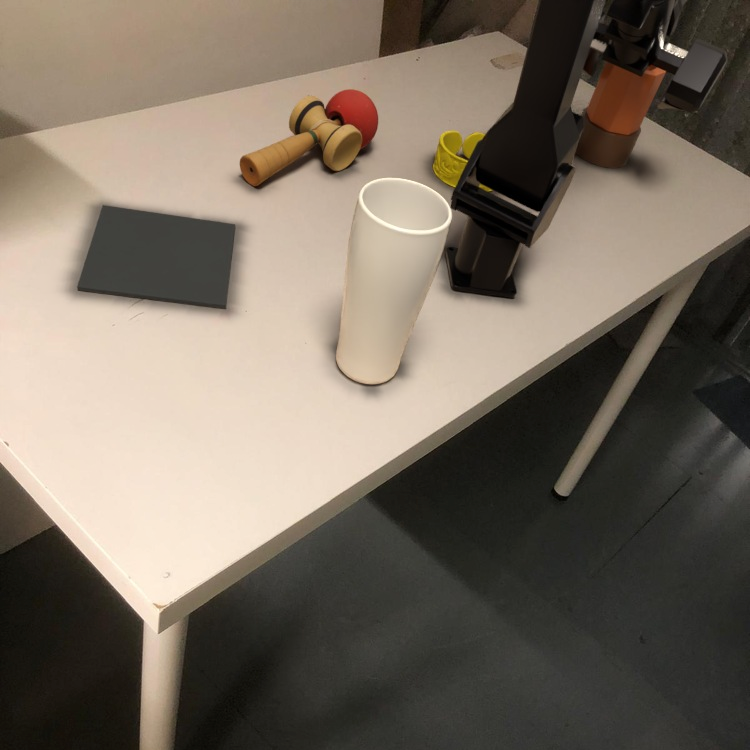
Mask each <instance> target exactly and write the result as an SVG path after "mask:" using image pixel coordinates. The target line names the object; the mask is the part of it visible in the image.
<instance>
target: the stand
mask: <svg viewBox="0 0 750 750" xmlns="http://www.w3.org/2000/svg"><path fill="white" fill-rule="evenodd" d="M587 108H588V106H586V107H584V108H583V110H582V112H581V116H583V119H584V129H583V132H582V134H581V137H580V139H579V142H578V146H577V149H576V152H575V155H577V157H579V158H581V159H582V160H584V161H586V162H588V163H590V164H593V165H596V166H598V167H603V168H608V169H609V168H610V169H617V168H622V167H623V166H625V165H626V164H627V162H628V161H629V158H630V156H631V154H632V151H633V149H634V148H635V145H636V143H637V141H638V139H639V138H640V135H641V133H642V128H641V127H640V128H639V130H638V131H636V132H634V133H632V134H630V135H624V134H619V133H613V132H609V131H606V130H605V129H603V128H601V127H599V126H598V125H596V124H594V123H593V122H591V121H590V119H589V117H588V114H587V112H586V110H587Z"/></svg>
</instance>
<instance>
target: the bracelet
mask: <svg viewBox="0 0 750 750" xmlns="http://www.w3.org/2000/svg"><path fill="white" fill-rule="evenodd" d="M485 134H486V133H483V132H472V133H471V134H469V135H468V136H466V138H464V141H463V137H462V135H461V133H460V132H459V131H457V130H448V131H447V130H446V131H444V132H443V133H442V134H441V135H440V137H439V140H438V144H437V148H436V152H435V155H434V162H433V164H432V169H433V173H434V174H435V176H436V177H437V178H438V179H439V180H440V181H442V182H443V183H444V184H446V185H448V186H450V187H453V188H455V187H456V185H457V184H458V181H459V179H460V176H461V174H462V172H463V170H464V168H465V166H466V164H467V162H468V160H469V158H470V156H471V154H472V152H473V150H474V148H475V146H476V144H477V143H478V141H480V140H482V139H483V137H484V136H485ZM460 150H462V153H463V156H464V157H466V158H467V159H468V160H467V159H465V158H462V157H460V156H458V155H457V154H458V152H459V151H460ZM479 187H480V188H482V189H484V190H486V191H488V192H492V191H493V190H491V189H489V188H487V187H485V186H483V185H482V184H480V185H479Z"/></svg>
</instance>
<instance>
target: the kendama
mask: <svg viewBox="0 0 750 750" xmlns="http://www.w3.org/2000/svg"><path fill="white" fill-rule="evenodd" d="M288 120H289V121H288V128H289V130H290V132H291V133H292V134H293V135H291V136H289V137H286V138H284V139H281V140H278V141H277V142H274V143H272V144H270V145H268V146H265V147H262V148H260V149H258V150H255V151H252V152H249V153H247V154H243V155H242V156H241V157H240V159H239V169H240V172H241V174H242V176H243V178H244V180H245V181H246V182H247V183H248V184H249V185H251V186H253V187H257V186H259V185H260V184H262V183H264V182H265V181H266V180H268V178H269V179H270V178H271V177H272V176H273V175H276V173H279V171H281V170H283V169H284V168H285V167H287V166H290V165H291V164H292V163H293V162H295V161H297V160H298V159H300V158H301V157H303V156H304V155H305V154H306V153H307V152H309V151H310V150H311V149H313V148H314V146H316V145H318V144H319V146H320V148H321V150H322V161H323V164H325V166H327V167H328V168H329V169H331V170H332V171H334V172H339V171H342V170H344V169H346V168H347V167H348V166H350V165H351V164H352V162H353V161H354V160H355V159H356V157H357V155H358V154H359V152H360V150H362V149H363V148H365V147H367V146H368V145H370V143H371V142H372V141H373V139H374V138H375V137H376V134H377V131H378V127H379V114H378V110H377V106H376V105H375V103H374V101H373V100H372V99H371V98H370V96H368V94H366V93H364V92H363V91H360V90H357V89H351V88H350V89H342V90H341V91H339V92H337V93H335V94H334V95H333V96H332V97H330V99H329V100H328V102H327V104H326V106H325V104H324V101H323V100H321V99H319V98H318V97H317V96H315V95H312V94H311V95H306V96H304V97H303V98H302V99H300V100H299V101H298V102H297V103H296V105H295V106H294V107H293V109H292V111H291V113H290V115H289V119H288Z"/></svg>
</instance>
